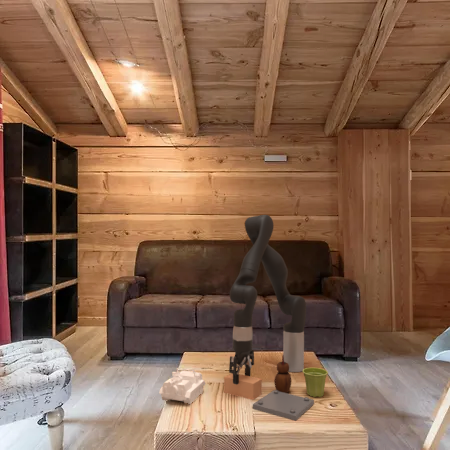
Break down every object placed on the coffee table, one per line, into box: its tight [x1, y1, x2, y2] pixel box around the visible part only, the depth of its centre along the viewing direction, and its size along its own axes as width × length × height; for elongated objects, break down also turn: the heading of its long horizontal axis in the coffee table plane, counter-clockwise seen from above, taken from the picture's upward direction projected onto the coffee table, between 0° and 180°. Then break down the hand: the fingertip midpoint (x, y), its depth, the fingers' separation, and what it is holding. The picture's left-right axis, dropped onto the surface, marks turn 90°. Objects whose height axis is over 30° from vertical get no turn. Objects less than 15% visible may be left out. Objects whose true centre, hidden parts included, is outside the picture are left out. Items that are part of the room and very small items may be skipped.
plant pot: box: [302, 367, 329, 398], centre depth 151 cm, size 9×9×9 cm
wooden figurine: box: [274, 355, 292, 394], centre depth 153 cm, size 7×6×15 cm
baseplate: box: [252, 389, 315, 421], centre depth 139 cm, size 16×16×2 cm
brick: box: [223, 373, 263, 401], centre depth 151 cm, size 6×13×6 cm, turn 56°
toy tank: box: [158, 367, 206, 405], centre depth 146 cm, size 12×20×10 cm, turn 161°
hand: (241, 380), depth 151 cm, fingers open, 8 cm apart
